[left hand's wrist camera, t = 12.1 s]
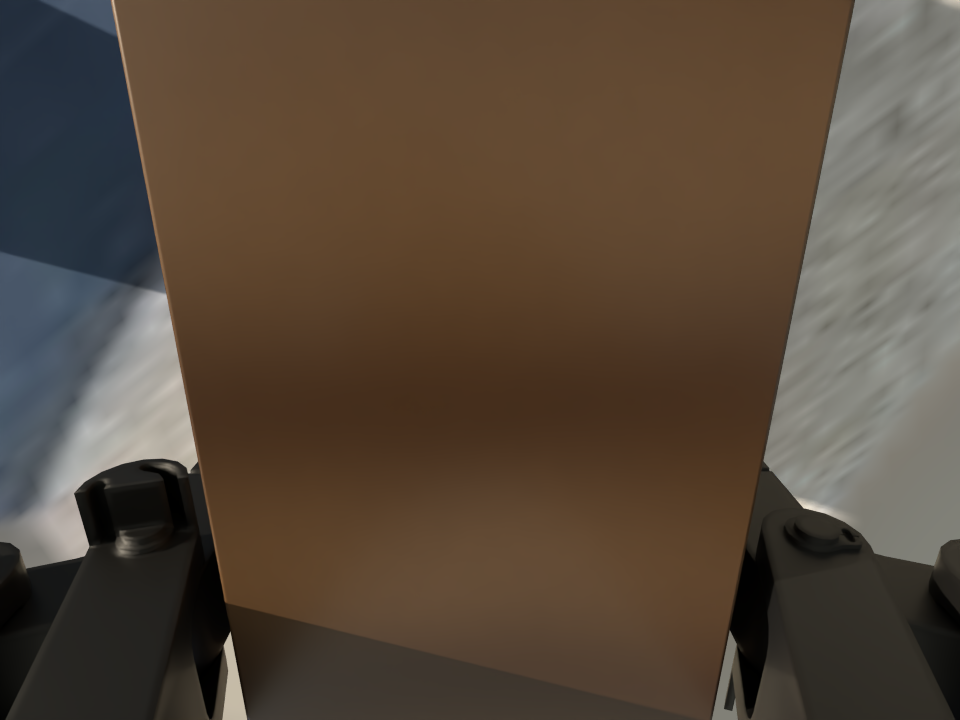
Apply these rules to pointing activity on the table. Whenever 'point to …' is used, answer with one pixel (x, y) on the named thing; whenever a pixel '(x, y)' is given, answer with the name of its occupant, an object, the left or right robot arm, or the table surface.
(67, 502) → the table surface
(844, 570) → the left robot arm
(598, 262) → the beam
